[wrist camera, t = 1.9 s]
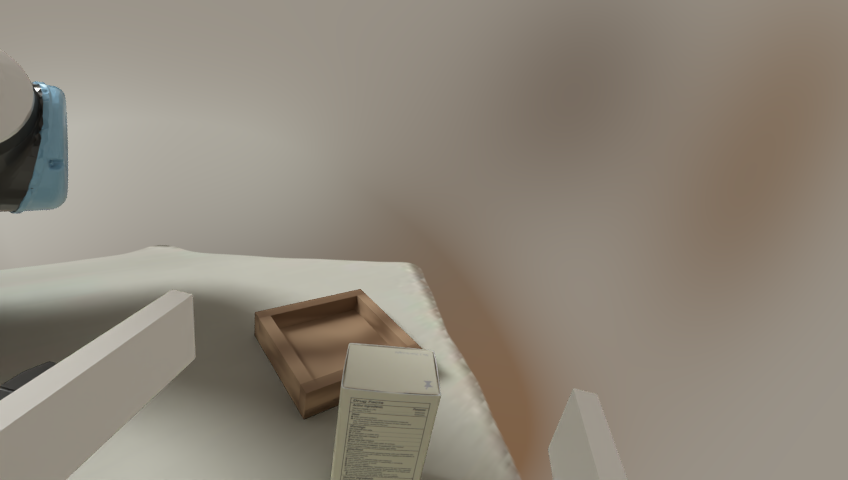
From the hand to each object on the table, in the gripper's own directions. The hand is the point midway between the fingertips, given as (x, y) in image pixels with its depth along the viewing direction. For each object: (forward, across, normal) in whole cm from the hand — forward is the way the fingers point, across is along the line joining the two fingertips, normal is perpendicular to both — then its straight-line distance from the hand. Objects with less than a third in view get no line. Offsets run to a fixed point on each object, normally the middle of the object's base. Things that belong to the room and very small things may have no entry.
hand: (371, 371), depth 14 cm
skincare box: (+10, 0, -20) cm, 23 cm away
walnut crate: (+24, -8, -20) cm, 32 cm away
